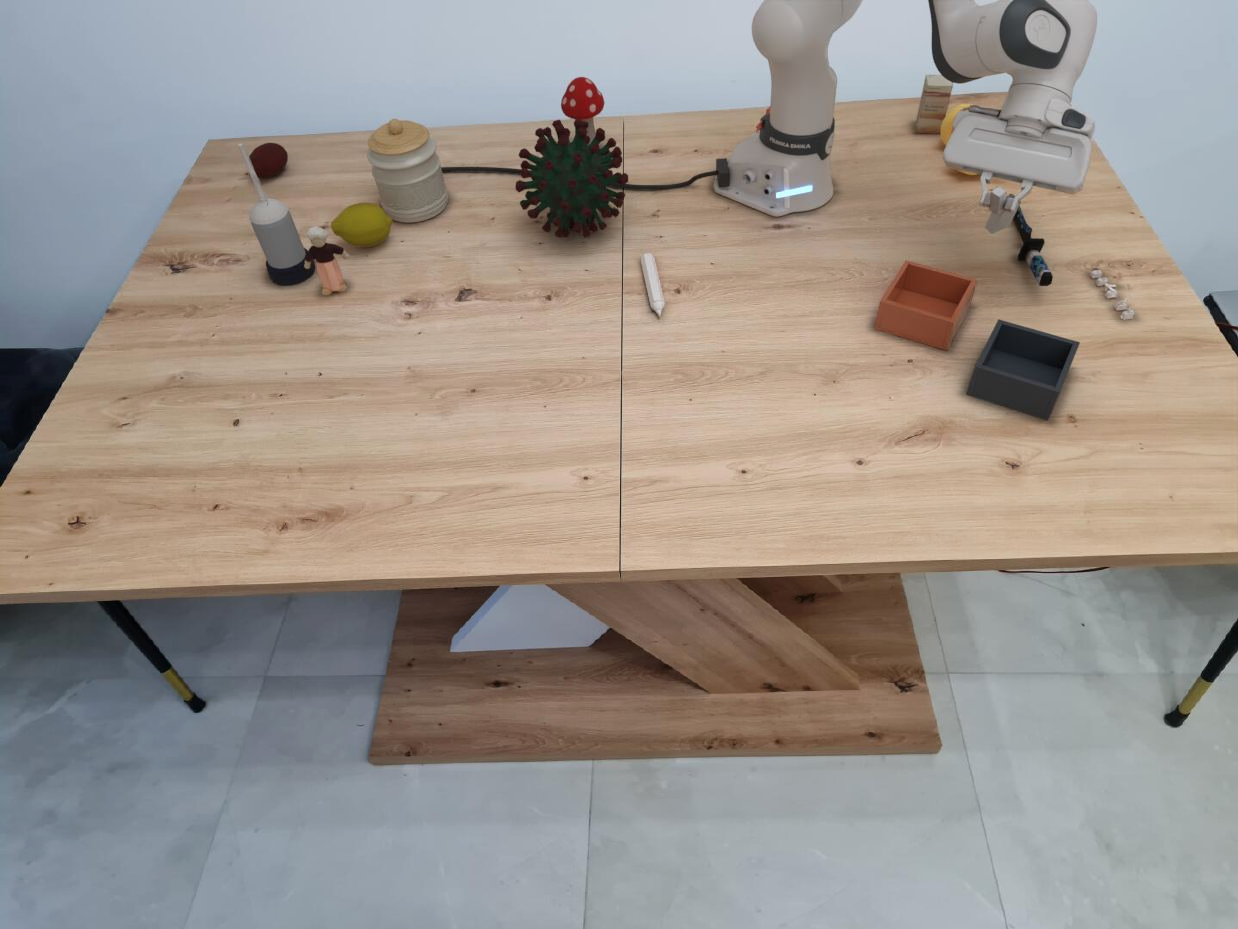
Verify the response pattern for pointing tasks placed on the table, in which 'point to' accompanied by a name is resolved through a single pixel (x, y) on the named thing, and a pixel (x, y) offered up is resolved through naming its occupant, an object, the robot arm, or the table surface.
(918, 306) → the terracotta bin
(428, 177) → the jar
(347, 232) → the lemon
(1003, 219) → the lighter
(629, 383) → the table surface
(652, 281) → the marker
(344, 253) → the grandmother figurine
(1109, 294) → the figurines set
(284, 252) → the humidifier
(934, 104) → the beige brown box
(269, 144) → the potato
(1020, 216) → the knife
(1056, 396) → the grey bin
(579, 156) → the virus model
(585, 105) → the decorative mushroom
